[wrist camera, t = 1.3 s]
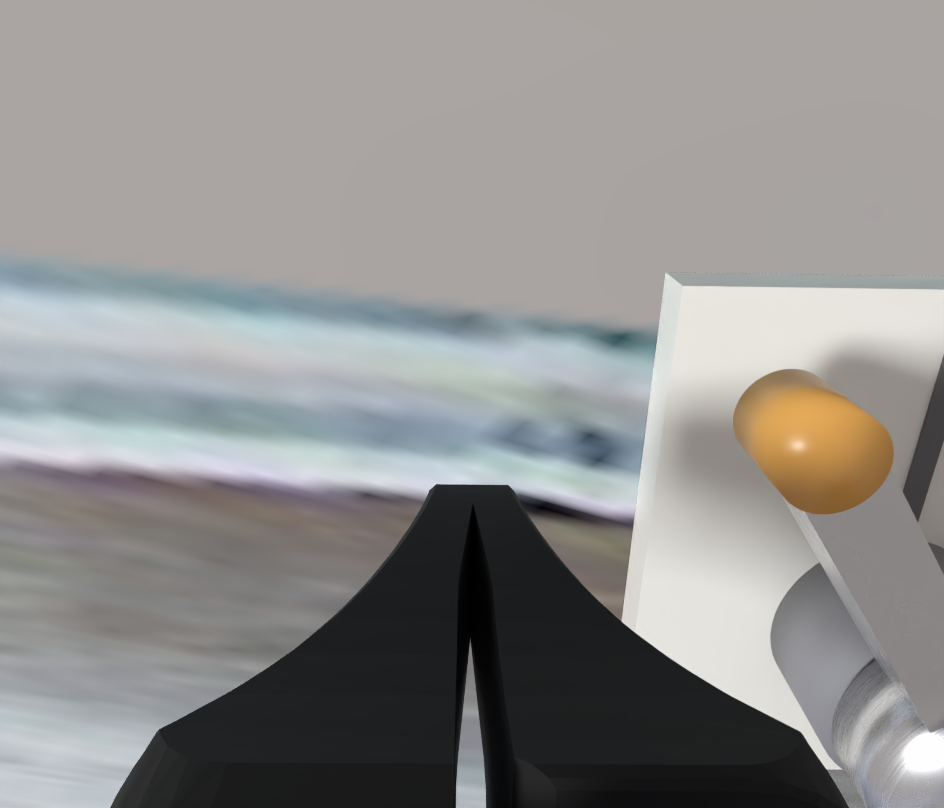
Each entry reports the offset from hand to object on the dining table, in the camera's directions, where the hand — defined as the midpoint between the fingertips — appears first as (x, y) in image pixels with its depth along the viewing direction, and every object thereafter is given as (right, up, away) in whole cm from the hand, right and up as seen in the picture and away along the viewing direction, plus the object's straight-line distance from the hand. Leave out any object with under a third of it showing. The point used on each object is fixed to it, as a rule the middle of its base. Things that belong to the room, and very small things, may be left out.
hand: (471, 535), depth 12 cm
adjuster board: (+12, -2, +9) cm, 15 cm away
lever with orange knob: (+10, -2, +4) cm, 11 cm away
